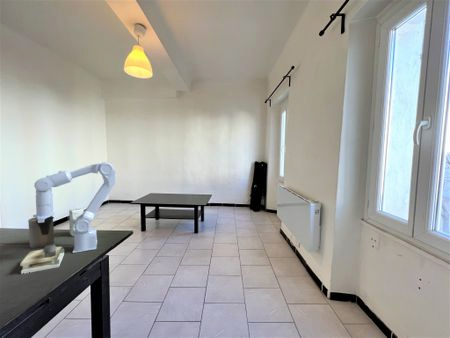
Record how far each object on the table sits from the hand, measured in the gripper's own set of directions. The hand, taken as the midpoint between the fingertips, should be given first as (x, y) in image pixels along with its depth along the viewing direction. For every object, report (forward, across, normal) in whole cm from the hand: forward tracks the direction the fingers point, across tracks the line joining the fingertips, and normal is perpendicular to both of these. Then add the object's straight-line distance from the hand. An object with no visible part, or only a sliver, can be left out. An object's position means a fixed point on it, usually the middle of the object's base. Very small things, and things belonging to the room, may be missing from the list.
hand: (45, 234), depth 97 cm
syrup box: (+10, -26, +9) cm, 29 cm away
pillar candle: (+10, -17, -5) cm, 20 cm away
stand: (+10, +8, +1) cm, 13 cm away
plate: (+7, +8, +1) cm, 11 cm away
